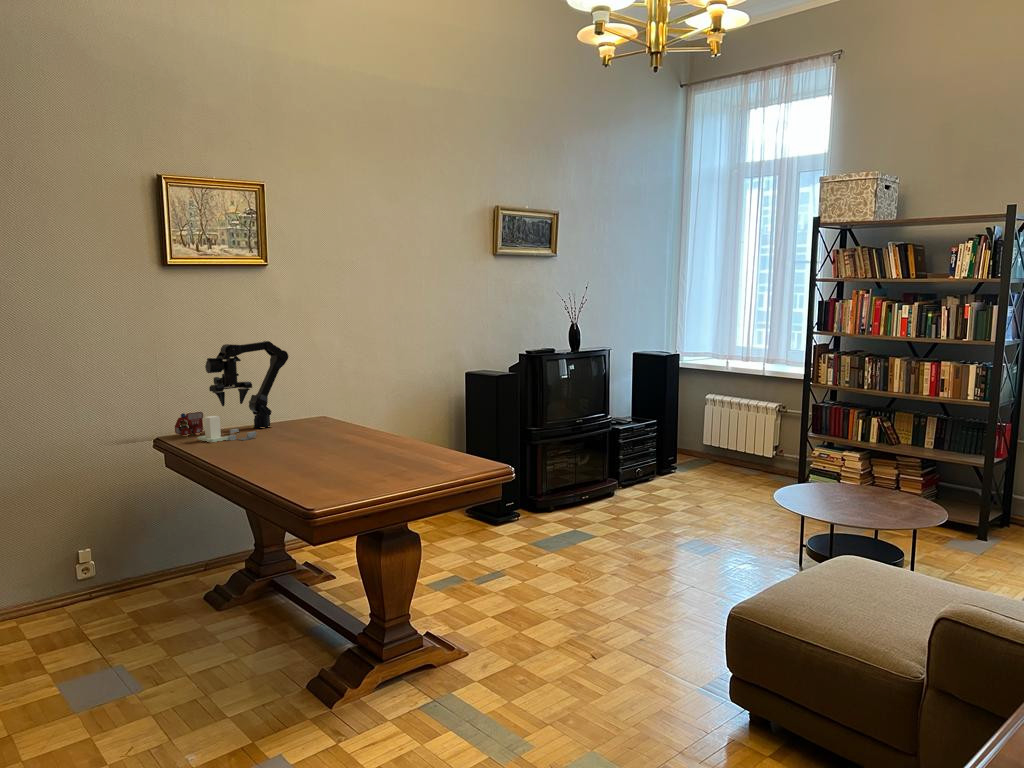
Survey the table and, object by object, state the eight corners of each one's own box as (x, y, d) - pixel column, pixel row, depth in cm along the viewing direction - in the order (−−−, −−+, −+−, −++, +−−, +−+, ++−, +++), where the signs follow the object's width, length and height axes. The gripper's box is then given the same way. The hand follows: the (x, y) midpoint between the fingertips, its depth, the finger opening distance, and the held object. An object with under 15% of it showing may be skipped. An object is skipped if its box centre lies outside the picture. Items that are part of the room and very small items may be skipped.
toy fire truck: (173, 436, 341) (171, 413, 340) (201, 432, 349) (200, 410, 348) (177, 438, 336) (176, 414, 335) (206, 434, 343) (204, 411, 342)
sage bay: (215, 437, 335) (215, 434, 334) (229, 439, 328) (229, 436, 328) (196, 440, 328) (196, 437, 327) (210, 443, 321) (210, 439, 321)
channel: (231, 431, 348) (230, 427, 348) (263, 437, 333) (263, 432, 333) (205, 436, 338) (204, 431, 338) (237, 441, 323) (236, 437, 322)
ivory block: (215, 438, 331) (213, 415, 330) (221, 439, 328) (219, 416, 327) (205, 439, 327) (204, 417, 326) (211, 440, 325) (209, 417, 323)
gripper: (238, 369, 358) (240, 401, 360) (201, 372, 343) (204, 406, 345) (252, 370, 351) (253, 403, 353) (215, 373, 336) (217, 408, 338)
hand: (232, 405), depth 347 cm, fingers open, 9 cm apart
